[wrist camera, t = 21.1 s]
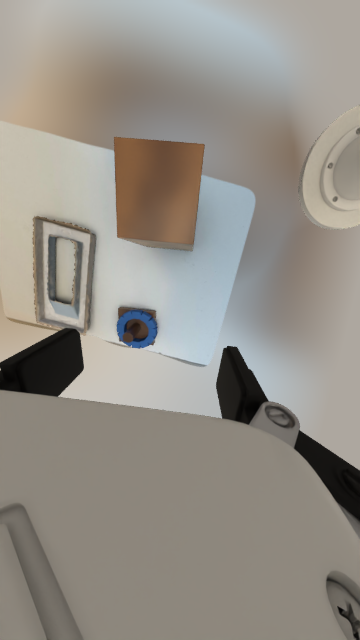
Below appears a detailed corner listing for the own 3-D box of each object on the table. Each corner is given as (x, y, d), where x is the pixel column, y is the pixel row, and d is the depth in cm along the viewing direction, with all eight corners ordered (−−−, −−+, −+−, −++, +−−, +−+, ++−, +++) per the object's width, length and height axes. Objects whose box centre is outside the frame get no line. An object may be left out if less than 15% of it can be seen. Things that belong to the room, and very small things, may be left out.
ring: (158, 312, 40) (156, 314, 38) (156, 346, 43) (154, 350, 42) (119, 307, 40) (116, 309, 39) (120, 342, 44) (117, 345, 42)
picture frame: (44, 319, 44) (35, 323, 42) (39, 214, 36) (26, 211, 33) (93, 331, 45) (87, 336, 42) (99, 230, 36) (92, 228, 33)
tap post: (155, 310, 41) (148, 320, 34) (154, 342, 45) (147, 357, 38) (120, 306, 42) (106, 316, 35) (121, 338, 45) (108, 353, 38)
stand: (198, 197, 33) (204, 143, 18) (192, 251, 36) (193, 244, 21) (148, 192, 33) (113, 136, 18) (147, 246, 37) (117, 237, 22)
